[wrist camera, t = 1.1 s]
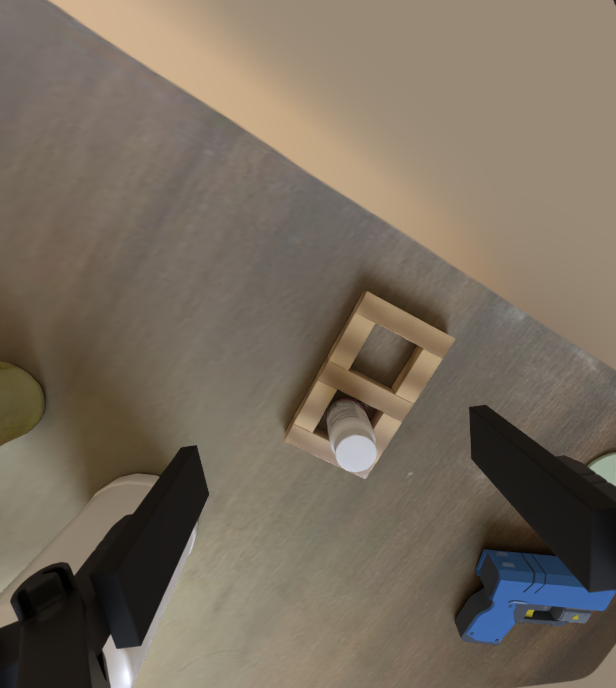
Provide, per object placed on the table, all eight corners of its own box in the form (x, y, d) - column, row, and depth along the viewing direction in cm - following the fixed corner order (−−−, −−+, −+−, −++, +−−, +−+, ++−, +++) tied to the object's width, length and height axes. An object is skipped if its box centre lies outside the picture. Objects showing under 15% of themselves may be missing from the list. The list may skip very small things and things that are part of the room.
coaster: (608, 438, 39) (611, 440, 38) (670, 472, 40) (674, 473, 39) (557, 500, 41) (560, 503, 40) (618, 531, 42) (621, 533, 41)
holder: (363, 289, 35) (367, 290, 33) (447, 335, 36) (455, 338, 34) (284, 432, 39) (283, 441, 37) (362, 469, 40) (365, 479, 38)
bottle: (139, 577, 44) (-145, 1087, 16) (71, 504, 41) (-401, 963, 14) (221, 530, 42) (58, 1014, 15) (156, 451, 39) (-192, 857, 12)
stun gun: (575, 663, 43) (622, 584, 38) (462, 653, 42) (495, 573, 38) (552, 627, 47) (592, 552, 42) (449, 617, 46) (478, 541, 42)
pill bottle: (369, 427, 39) (386, 469, 30) (331, 437, 39) (338, 481, 31) (360, 392, 38) (374, 425, 29) (321, 402, 38) (325, 438, 30)
